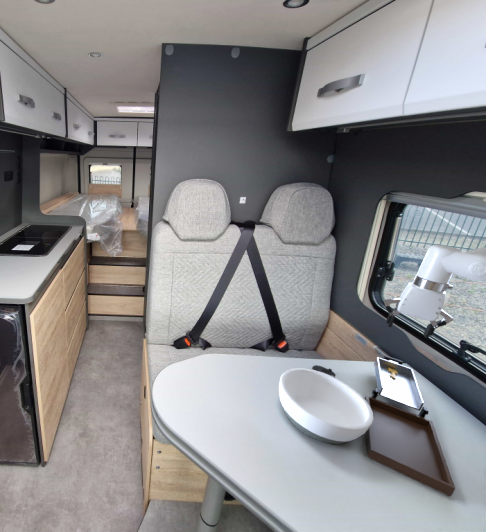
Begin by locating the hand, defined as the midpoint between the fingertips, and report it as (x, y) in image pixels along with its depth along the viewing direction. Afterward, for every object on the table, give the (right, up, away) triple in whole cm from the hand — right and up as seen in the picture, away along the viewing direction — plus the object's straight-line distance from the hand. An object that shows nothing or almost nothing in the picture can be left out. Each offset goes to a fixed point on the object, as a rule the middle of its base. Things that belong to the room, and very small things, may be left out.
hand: (406, 330), depth 102 cm
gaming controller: (-27, -17, +2) cm, 32 cm away
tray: (-20, -26, -20) cm, 38 cm away
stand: (-13, -23, -10) cm, 28 cm away
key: (-4, -15, +1) cm, 15 cm away
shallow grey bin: (-6, -16, -2) cm, 18 cm away
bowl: (-40, -22, -15) cm, 48 cm away
